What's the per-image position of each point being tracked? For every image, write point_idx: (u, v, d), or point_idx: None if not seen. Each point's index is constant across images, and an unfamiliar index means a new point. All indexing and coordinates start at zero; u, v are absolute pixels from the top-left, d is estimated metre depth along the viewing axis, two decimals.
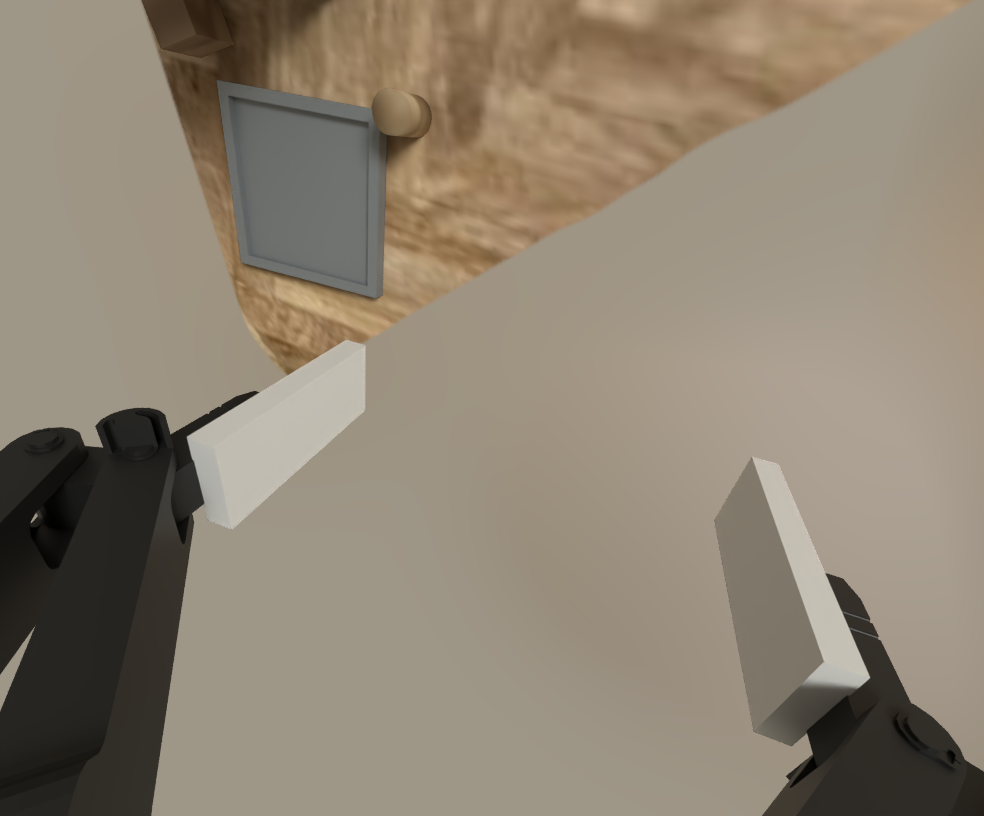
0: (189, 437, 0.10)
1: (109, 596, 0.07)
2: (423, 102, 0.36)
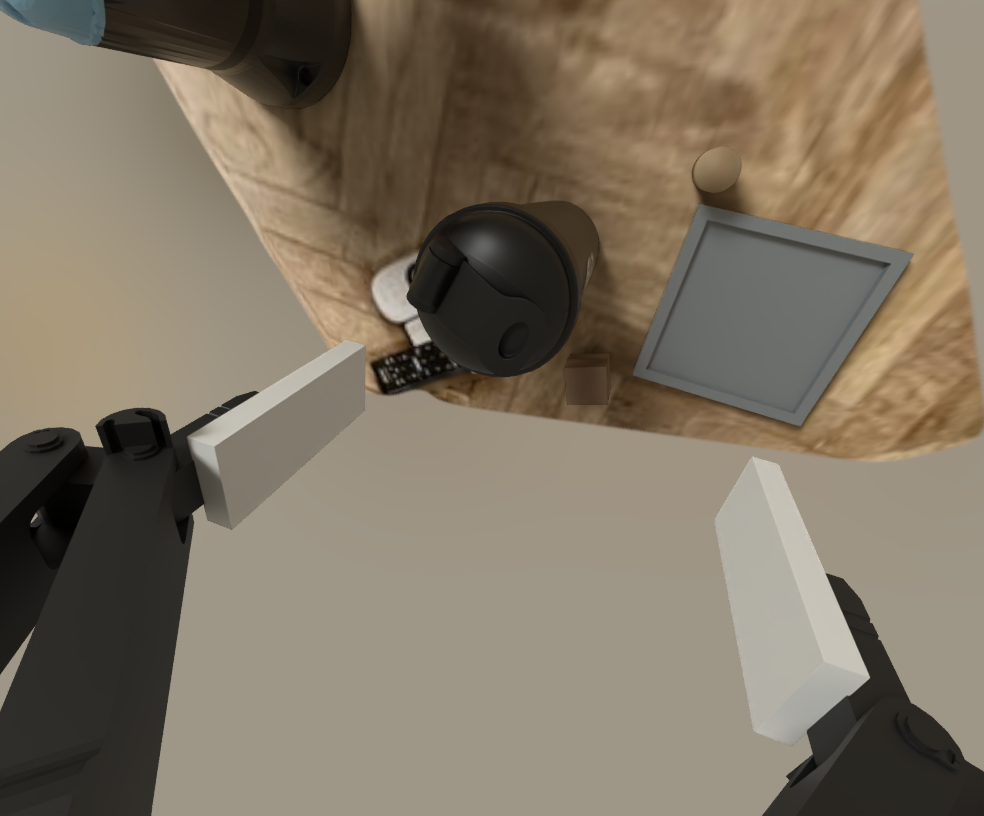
0: (189, 437, 0.10)
1: (108, 596, 0.07)
2: None
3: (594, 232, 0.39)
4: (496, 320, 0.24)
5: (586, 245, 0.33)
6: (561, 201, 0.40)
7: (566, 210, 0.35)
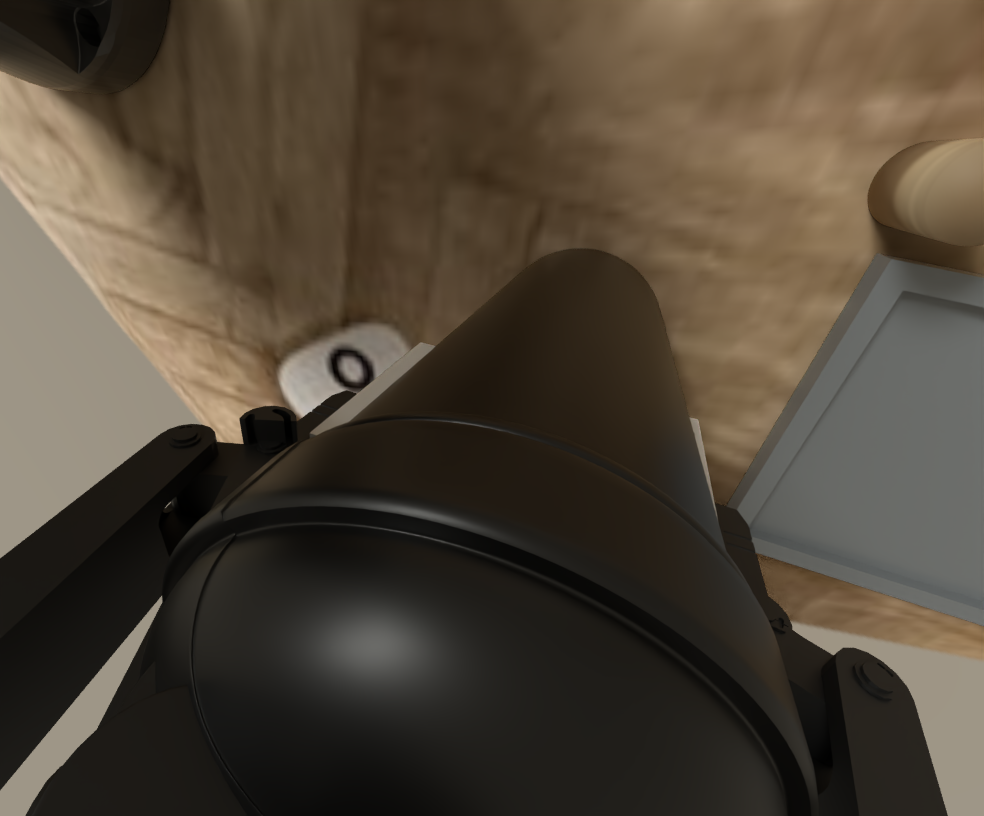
0: (312, 433, 0.11)
1: None
2: (914, 148, 0.16)
3: (660, 313, 0.20)
4: None
5: None
6: (591, 253, 0.21)
7: (620, 295, 0.15)
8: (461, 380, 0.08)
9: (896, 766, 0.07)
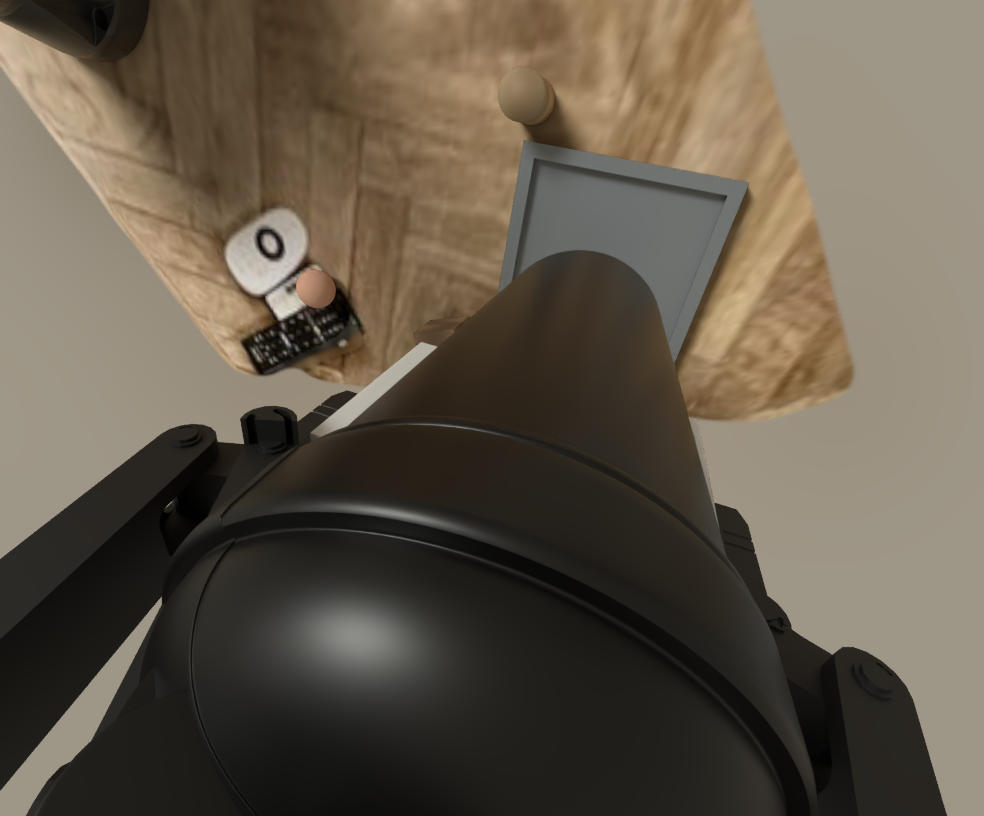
0: (312, 433, 0.11)
1: None
2: None
3: (660, 314, 0.20)
4: None
5: (681, 393, 0.14)
6: (591, 254, 0.21)
7: (620, 297, 0.15)
8: (460, 384, 0.08)
9: (895, 765, 0.07)
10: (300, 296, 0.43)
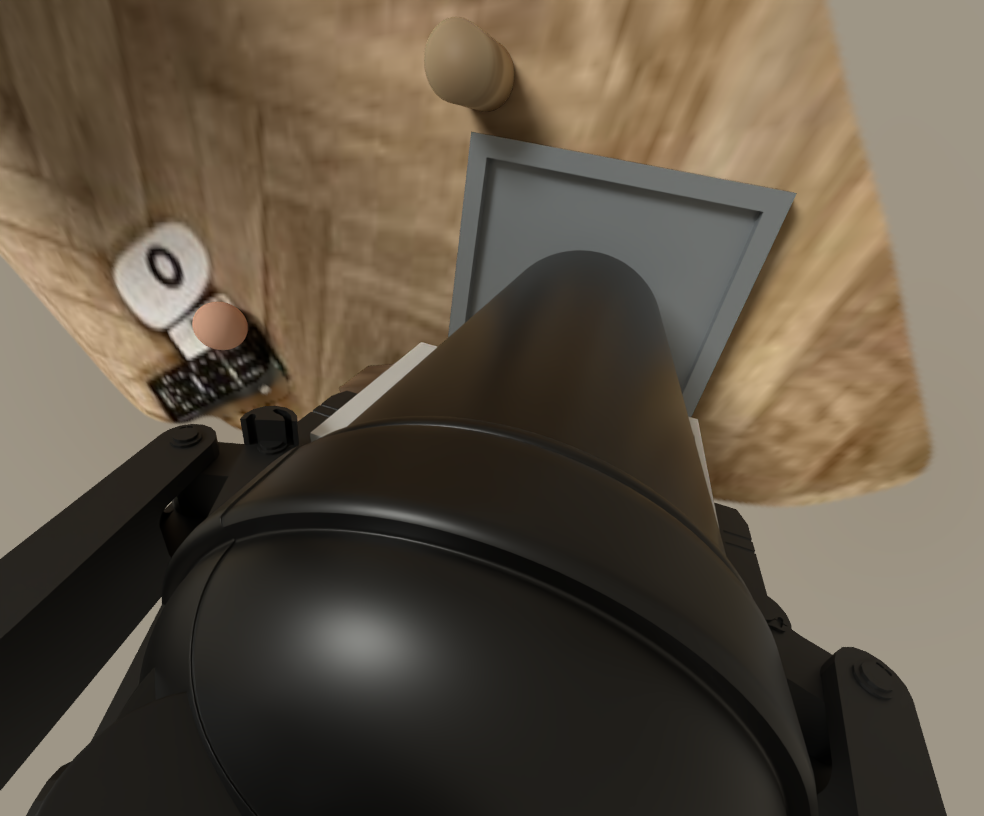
0: (312, 433, 0.11)
1: None
2: None
3: None
4: None
5: (681, 393, 0.14)
6: (591, 254, 0.21)
7: (620, 297, 0.15)
8: (460, 384, 0.08)
9: (895, 765, 0.07)
10: (197, 336, 0.33)
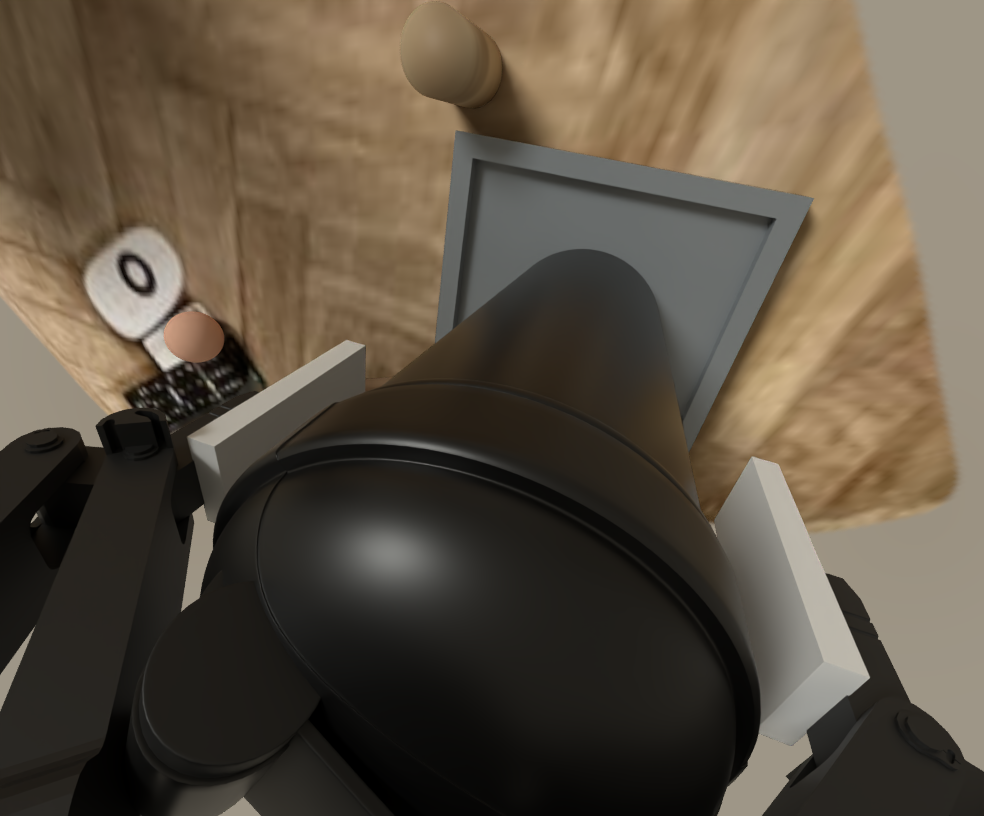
0: (189, 437, 0.10)
1: (108, 596, 0.07)
2: None
3: (657, 311, 0.21)
4: None
5: (672, 380, 0.15)
6: (594, 253, 0.22)
7: (619, 292, 0.16)
8: (472, 357, 0.09)
9: None
10: (169, 348, 0.31)
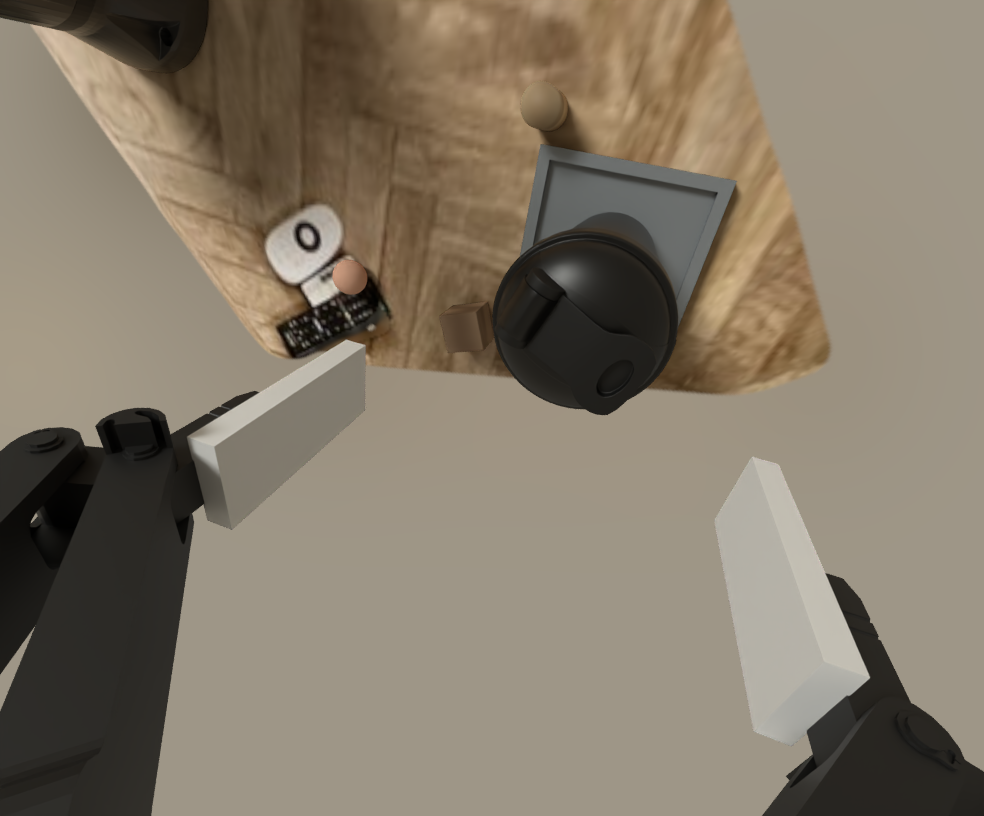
0: (189, 437, 0.10)
1: (108, 596, 0.07)
2: None
3: None
4: (597, 357, 0.22)
5: None
6: (618, 213, 0.38)
7: (633, 226, 0.33)
8: None
9: None
10: (336, 283, 0.48)
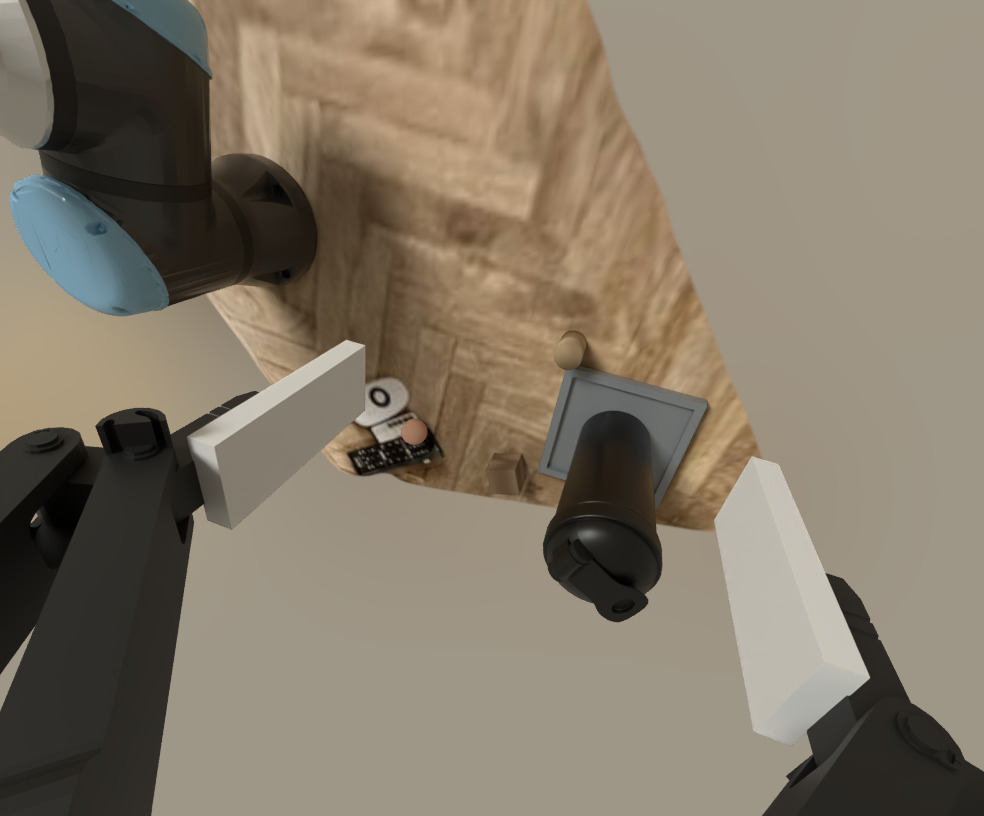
0: (189, 437, 0.10)
1: (108, 595, 0.07)
2: (565, 334, 0.51)
3: (649, 441, 0.52)
4: (612, 595, 0.36)
5: (652, 482, 0.45)
6: (623, 415, 0.52)
7: (634, 447, 0.47)
8: (602, 490, 0.40)
9: None
10: (404, 439, 0.62)
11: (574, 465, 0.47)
